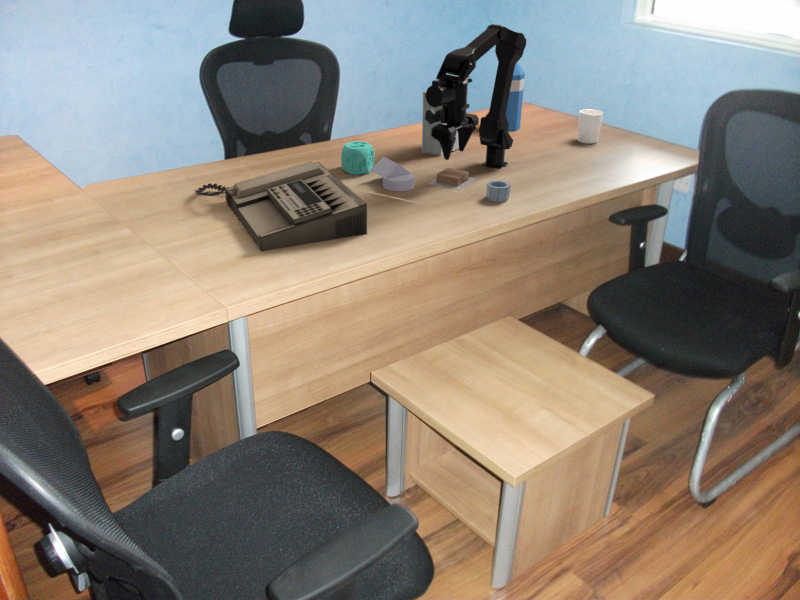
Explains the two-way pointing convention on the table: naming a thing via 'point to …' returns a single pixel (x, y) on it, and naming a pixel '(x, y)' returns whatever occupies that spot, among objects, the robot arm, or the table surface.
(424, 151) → the hard drive box
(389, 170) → the wedge on round base
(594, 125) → the white cup
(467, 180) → the mat
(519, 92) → the water bottle
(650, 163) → the table surface
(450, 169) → the block
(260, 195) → the fax machine
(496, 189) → the grey ring collar
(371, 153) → the decorative dice
